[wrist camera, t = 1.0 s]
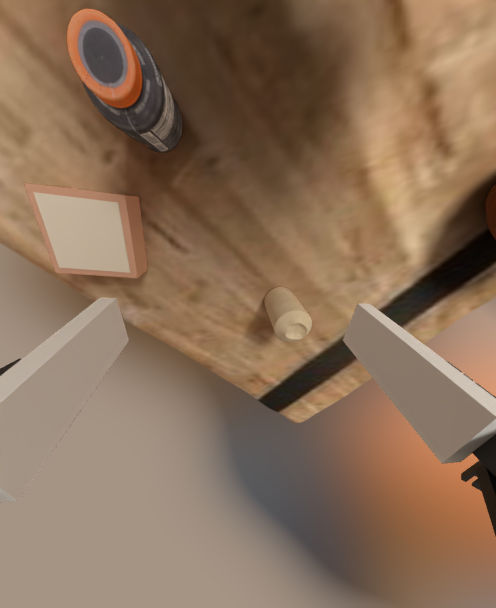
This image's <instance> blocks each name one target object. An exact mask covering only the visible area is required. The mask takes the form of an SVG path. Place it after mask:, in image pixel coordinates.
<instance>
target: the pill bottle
mask: <svg viewBox="0 0 496 608" xmlns="http://www.w3.org/2000/svg"><path fill="white" fill-rule="evenodd" d="M67 46H68V51H69V55H70V59H71V61H72V64H73V66H74V68H75V70H76V72H77V73H78V75H79V77H80V78H81V80H82V82H83V85H84V87H85V89H86V91H87V93H88V95H89V97H90V99H91V101H92V102H93V104H94V105H95V107H96V108H97V109H98V111H99V112H100V113H101V114H102V115H103V116H104V117H105V118H106V119H107V120H108V121H109V122H111V123H112V124H113V125H115V126H116V127H117V128H118V129H120V130H122V131H123V132H125V133H126V134H127V135H129V136H130V137H132V138H133V139H135V140H136V141H138V142H139V143H141V144H142V145H144V146H145V147H147V148H149V149H150V150H152V151H155V152H160V153H162V152H168V151H170V150H172V149H173V148H175V147H176V145H177V144H178V142H179V140H180V138H181V134H182V118H181V114H180V111H179V108H178V105H177V103H176V101H175V99H174V97H173V95H172V93H171V91H170V89H169V87H168V85H167V83H166V81H165V79H164V78H163V76H162V74H161V72H160V70H159V68H158V66H157V64H156V62H155V60H154V58H153V56H152V54H151V53H150V51H149V50H148V48H147V47H146V46H145V44H144V43H143V42H142V41H141V39H140V38H139V37H138V36H137V35H135V34H134V33H133V32H132V31H131V30H129V29H128V28H126V27H125V26H123V25H121V24H119V23H116V22H114V21H113V20H112V19H110V18H109V17H108V16H106V15H105V14H103V13H102V12H100V11H97V10H94V9H83V10H80V11H79V12H77V13H76V14H75V15H73V17H72V19H71V20H70V23H69V26H68V30H67Z"/></svg>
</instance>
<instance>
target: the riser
mask: <svg viewBox="0 0 496 608" xmlns="http://www.w3.org/2000/svg"><path fill="white" fill-rule="evenodd" d="M24 186H25V189H26V191H27V194H28V197H29V200H30V203H31V205H32V208H33V211H34V214H35V217H36V219H37V222H38V225H39V228H40V231H41V233H42V236H43V239H44V242H45V245H46V247H47V250H48V253H49V256H50V259H51V261H52V264H53V267H54V270H55V273H69V274H83V275H97V276H112V277H126V278H139V277H140V276H141V275H142V274H143V273H145V272H146V271H147V270H148V265H147V257H146V249H145V241H144V233H143V225H142V217H141V209H140V201H139V197H138V196H130V195H122V194H114V193H106V192H99V191H91V190H83V189H75V188H67V187H60V186H51V185H42V184H32V183H24Z"/></svg>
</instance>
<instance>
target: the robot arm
mask: <svg viewBox="0 0 496 608" xmlns="http://www.w3.org/2000/svg"><path fill="white" fill-rule="evenodd" d="M128 341H129V339H128V336H127V332H126V329H125V325H124V322H123V318H122V315H121V311H120V308H119V304H118V301H117V298H99V299H98V300H96V301H95V302H94V303H93V304H91V305H90V306H89V307H88V308H86V309H85V310H84V311H82V312H81V313H80V314H79V315H77V316H76V317H75V318H74V319H72V320H71V321H70V322H68V323H67V324H66V325H65V326H64V327H62V328H61V329H60V330H58V331H57V332H56V333H54V334H53V335H52V336H51V337H49V338H48V339H47V340H46V341H44V342H43V343H42V344H40V345H39V346H38V347H37V348H35V349H34V350H33V351H32V352H30V353H29V354H28V355H26V356H25V357H24V358H23V359H18V360H16V361H14V362H12V363H10V364H8V365H6V366H5V367H3V368H1V369H0V503H3V502H15V501H19V500H20V498H21V497H22V495H23V494H24V492H25V491H26V489H27V488H28V486H29V485H30V484H31V482H32V481H33V479H34V478H35V476H36V475H37V473H38V472H39V470H40V469H41V468H42V466H43V465H44V463H45V462H46V460H47V459H48V457H49V456H50V454H51V453H52V452H53V450H54V449H55V447H56V446H57V444H58V443H59V441H60V440H61V439H62V437H63V436H64V434H65V433H66V431H67V430H68V428H69V427H70V426H71V424H72V423H73V421H74V420H75V418H76V417H77V415H78V414H79V412H80V411H81V409H82V408H83V406H84V405H85V404H86V402H87V401H88V399H89V398H90V397H91V395H92V394H93V392H94V391H95V389H96V388H97V386H98V385H99V383H100V382H101V380H102V379H103V378H104V376H105V374H106V373H107V372H108V370H109V369H110V367H111V366H112V365H113V363H114V362H115V360H116V359H117V357H118V356H119V354H120V353H121V352H122V350H123V349H124V347H125V346H126V344H127V343H128ZM343 341H344V342H345V344H346V345H347V346H348V347H349V349H350V350H351V351H352V352H353V354H354V355H355V356H356V357H357V359H358V360H359V361H360V362H361V364H362V365H363V366H364V367H365V369H366V370H367V371H368V372H369V374H370V375H371V376H372V377H373V379H374V380H375V381H376V382H377V383H378V385H379V386H380V387H381V388H382V390H383V391H384V392H385V393H386V395H387V396H388V397H389V398H390V400H391V401H392V402H393V403H394V405H395V406H396V407H397V408H398V410H399V411H400V412H401V413H402V415H403V416H404V417H405V418H406V420H407V421H408V422H409V423H410V425H411V426H412V427H413V428H414V430H415V431H416V432H417V433H418V434H419V436H420V437H421V438H422V439H423V441H424V442H425V443H426V444H427V446H428V447H429V448H430V449H431V451H432V452H433V453H434V454H435V456H436V457H437V458H438V459H439V461H440V462H441V463H454V462H461V461H462V460H464V459H465V458H466V457H468V456H469V455H470V454H472V453H473V454H474V455H475V456H476V457H477V458H478V459H479V460H480V461H478V462H477V463H475V464H474V465H473V466H471V467H470V468H468V469H467V470H466V471H464V472H463V473H462V474H461V479H462V480H463V481H465V482H466V481H468V480H469V479H471V478H472V477H473V476H477V477H478V479H477V480H475V481H474V482H473V483H472V486H474V487H475V488H477V489H479V490H481V491H482V493H483V497H484V500H485V503H486V506H487V509H488V513H489V516H490V519H491V522H492V526H493V529H494V532H495V535H496V397H495V396H493V395H492V394H490V393H489V392H488V391H487V390H485V389H484V388H483V387H481V386H480V385H479V384H477V383H475V382H473V380H472V379H470V378H469V377H468V376H466V375H465V374H463V373H461V371H460V370H459V369H457V368H456V367H454V366H453V365H452V364H450V363H449V362H447V361H445V360H444V359H443V358H441V357H440V356H439V355H437V354H436V353H434V352H433V351H432V350H431V349H429V348H428V347H427V346H425V345H424V344H423V343H421V342H420V341H419V340H417V339H416V338H415V337H413V336H412V335H411V334H409V333H408V332H407V331H405V330H404V329H403V328H401V327H400V326H399V325H397V324H396V323H395V322H393V321H392V320H391V319H389V318H388V317H387V316H385V315H384V314H383V313H381V312H380V311H379V310H377V309H376V308H375V307H373V306H372V305H371V304H357V306H356V309H355V311H354V314H353V316H352V319H351V321H350V324H349V326H348V329H347V331H346V334H345V336H344V339H343Z"/></svg>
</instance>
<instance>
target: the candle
mask: <svg viewBox="0 0 496 608" xmlns="http://www.w3.org/2000/svg"><path fill="white" fill-rule="evenodd" d="M264 304H265V308H266V311H267V313H268V316H269V318H270V321H271V324H272V326H273V329H274V332H275V334H276V336H277V337H278V338H279V339H280V340H282V341H285V342H295V341H298V340H301V339H302V338H304V337H305V336H306V335H307V334H308V333H309V331H310V330H311V327H312V320H311V317H310V316H309V315H308V313H307V312H306V311H305V309H304V308H303V306H302V305H301V304H300V302H299V301H298V300H297V298H296V297H295V296H294V294H293V293H292V292H291V291H290V290H289V289H287V288H285V287H277V288H274V289H272V290H270V291H269V292H268V293H267V295H266V297H265V300H264Z"/></svg>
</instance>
